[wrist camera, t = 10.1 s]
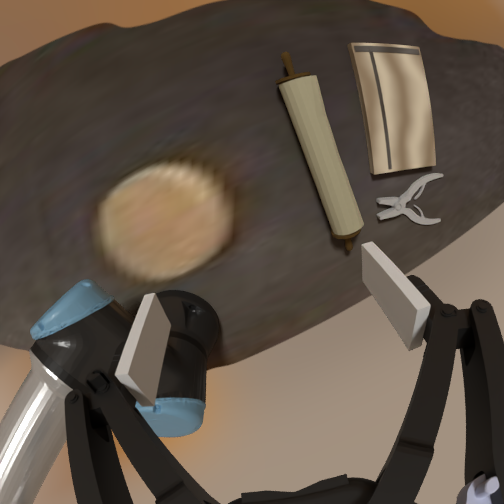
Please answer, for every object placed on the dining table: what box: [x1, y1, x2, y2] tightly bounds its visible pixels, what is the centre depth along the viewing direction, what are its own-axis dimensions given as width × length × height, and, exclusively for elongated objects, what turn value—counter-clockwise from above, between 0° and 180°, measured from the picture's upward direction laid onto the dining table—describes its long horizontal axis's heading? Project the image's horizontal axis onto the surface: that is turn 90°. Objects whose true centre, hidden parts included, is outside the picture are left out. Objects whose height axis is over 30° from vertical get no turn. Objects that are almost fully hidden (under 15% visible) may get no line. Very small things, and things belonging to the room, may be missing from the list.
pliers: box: [376, 173, 443, 225], centre depth 43 cm, size 10×2×15 cm
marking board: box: [347, 43, 436, 175], centre depth 35 cm, size 13×21×2 cm, turn 13°
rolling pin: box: [275, 52, 364, 251], centre depth 37 cm, size 32×6×5 cm, turn 22°
